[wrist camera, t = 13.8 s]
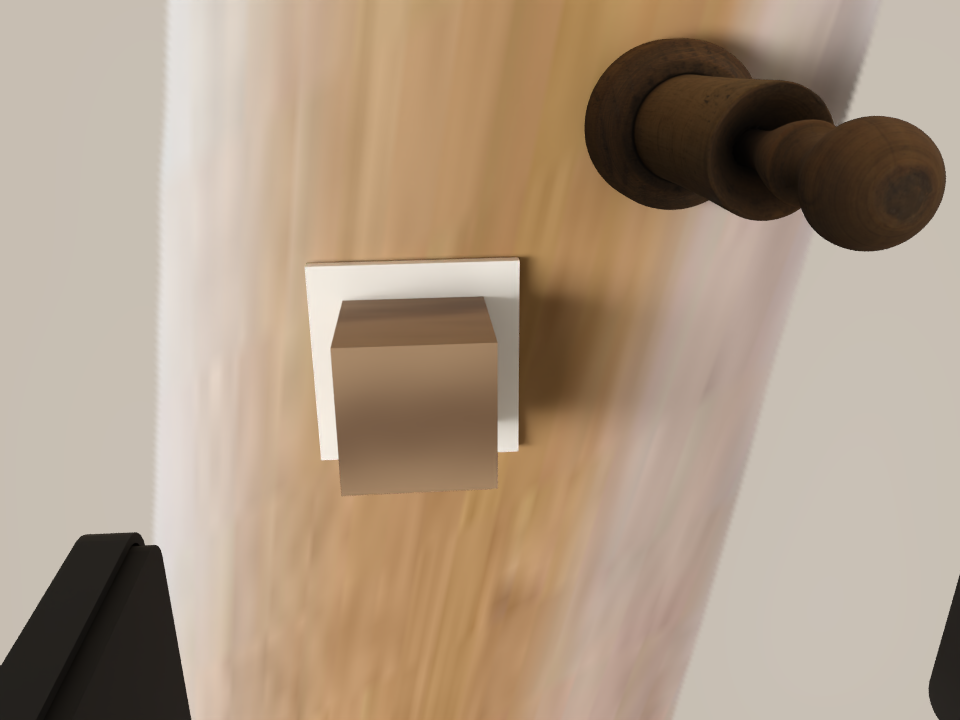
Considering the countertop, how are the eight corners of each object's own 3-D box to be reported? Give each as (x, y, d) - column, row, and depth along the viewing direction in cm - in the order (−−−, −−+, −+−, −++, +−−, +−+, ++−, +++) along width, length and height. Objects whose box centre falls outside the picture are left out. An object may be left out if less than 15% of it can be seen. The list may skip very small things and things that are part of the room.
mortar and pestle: (712, 8, 33) (1025, -29, 16) (761, 159, 35) (1079, 263, 19) (559, 83, 34) (710, 120, 17) (617, 227, 36) (800, 386, 19)
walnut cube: (342, 300, 35) (330, 348, 30) (483, 296, 36) (497, 342, 30) (351, 429, 38) (341, 496, 32) (484, 423, 38) (497, 488, 32)
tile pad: (306, 263, 35) (304, 266, 35) (517, 257, 36) (519, 260, 35) (322, 454, 39) (321, 460, 38) (516, 445, 39) (518, 451, 39)
